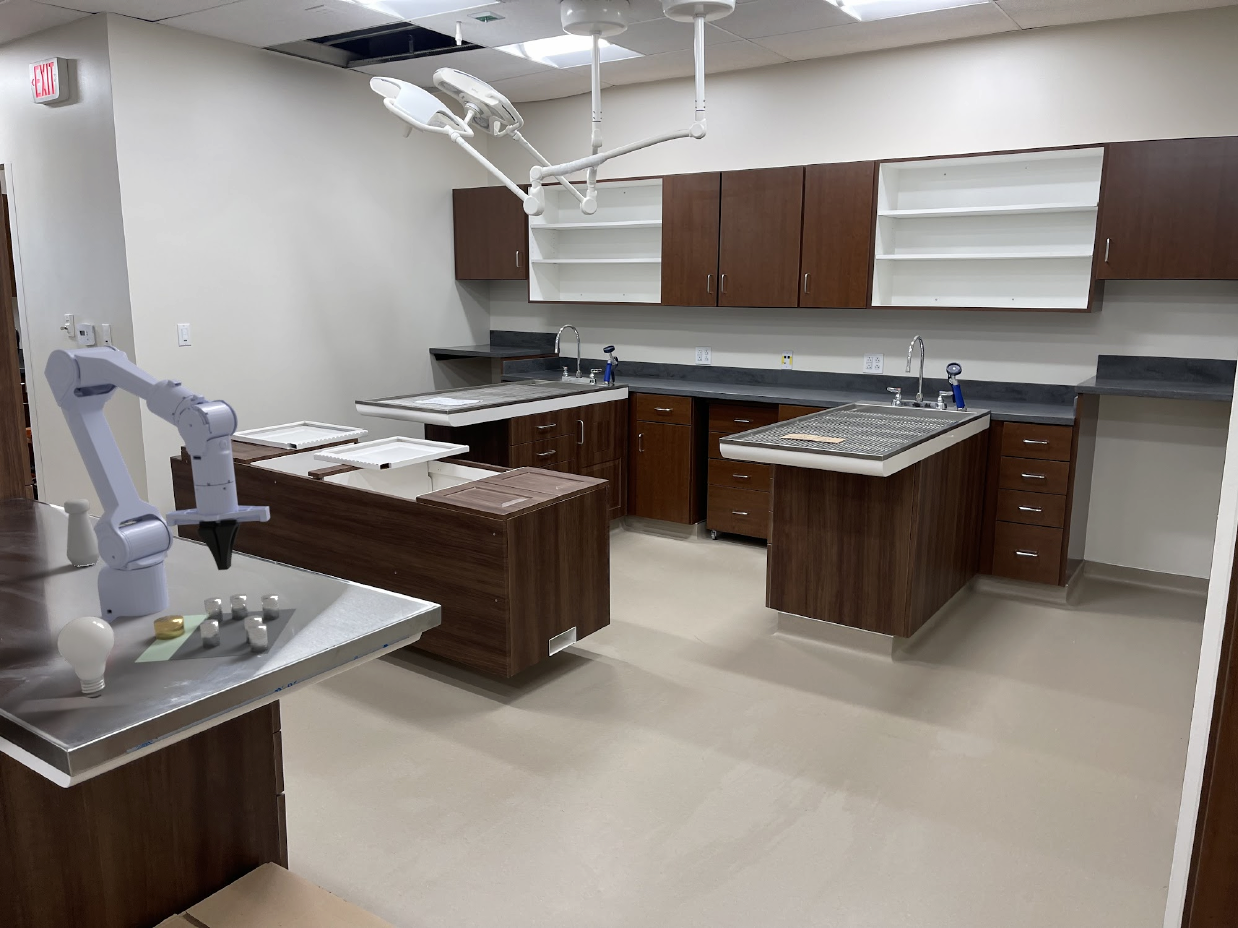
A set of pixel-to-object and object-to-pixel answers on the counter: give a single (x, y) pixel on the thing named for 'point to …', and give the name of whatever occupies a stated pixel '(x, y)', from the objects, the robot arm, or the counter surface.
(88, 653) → the lightbulb
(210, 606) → the spacers
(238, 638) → the mat
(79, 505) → the salt shaker
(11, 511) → the counter surface
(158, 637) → the gold disc
